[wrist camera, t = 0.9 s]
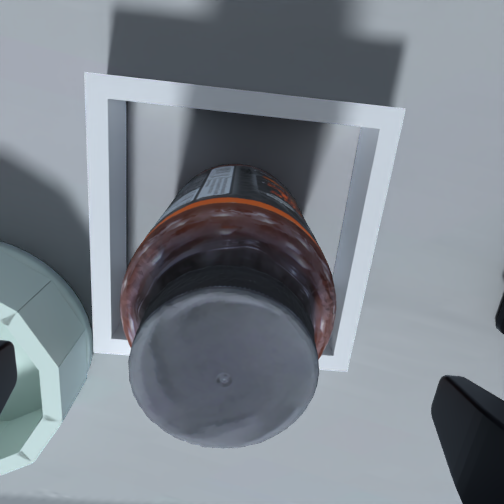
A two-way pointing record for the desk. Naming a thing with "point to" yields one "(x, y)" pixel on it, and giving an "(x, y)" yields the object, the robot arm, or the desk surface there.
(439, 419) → the robot arm
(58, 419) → the bowl
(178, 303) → the supplement bottle
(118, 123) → the tray
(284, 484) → the desk surface
